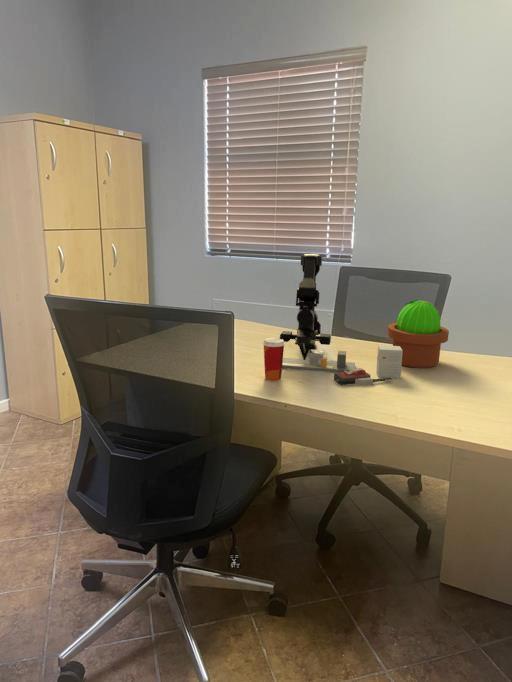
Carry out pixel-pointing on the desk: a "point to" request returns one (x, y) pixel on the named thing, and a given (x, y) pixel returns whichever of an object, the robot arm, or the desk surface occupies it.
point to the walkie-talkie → (356, 377)
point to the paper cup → (273, 358)
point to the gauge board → (331, 365)
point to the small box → (389, 361)
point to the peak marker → (323, 361)
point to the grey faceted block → (316, 357)
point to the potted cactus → (418, 334)
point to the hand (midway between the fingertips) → (304, 359)
